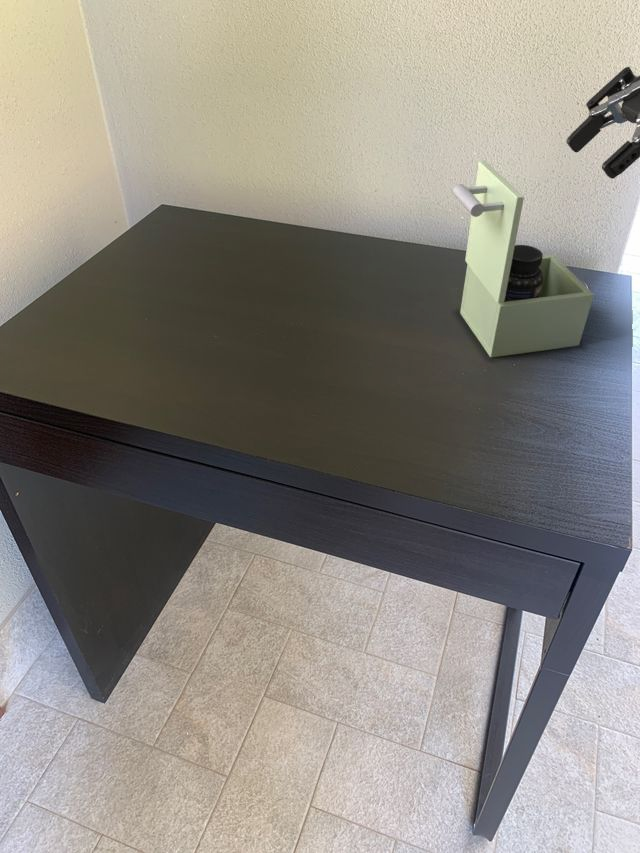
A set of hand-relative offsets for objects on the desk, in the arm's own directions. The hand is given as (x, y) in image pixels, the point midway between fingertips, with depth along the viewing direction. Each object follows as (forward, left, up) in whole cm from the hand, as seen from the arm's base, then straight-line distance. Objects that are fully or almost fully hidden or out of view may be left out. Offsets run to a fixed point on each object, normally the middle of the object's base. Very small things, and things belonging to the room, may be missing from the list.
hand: (587, 159), depth 81 cm
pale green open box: (+3, +3, -23) cm, 24 cm away
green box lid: (+7, +7, -8) cm, 13 cm away
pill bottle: (+4, +4, -22) cm, 23 cm away
